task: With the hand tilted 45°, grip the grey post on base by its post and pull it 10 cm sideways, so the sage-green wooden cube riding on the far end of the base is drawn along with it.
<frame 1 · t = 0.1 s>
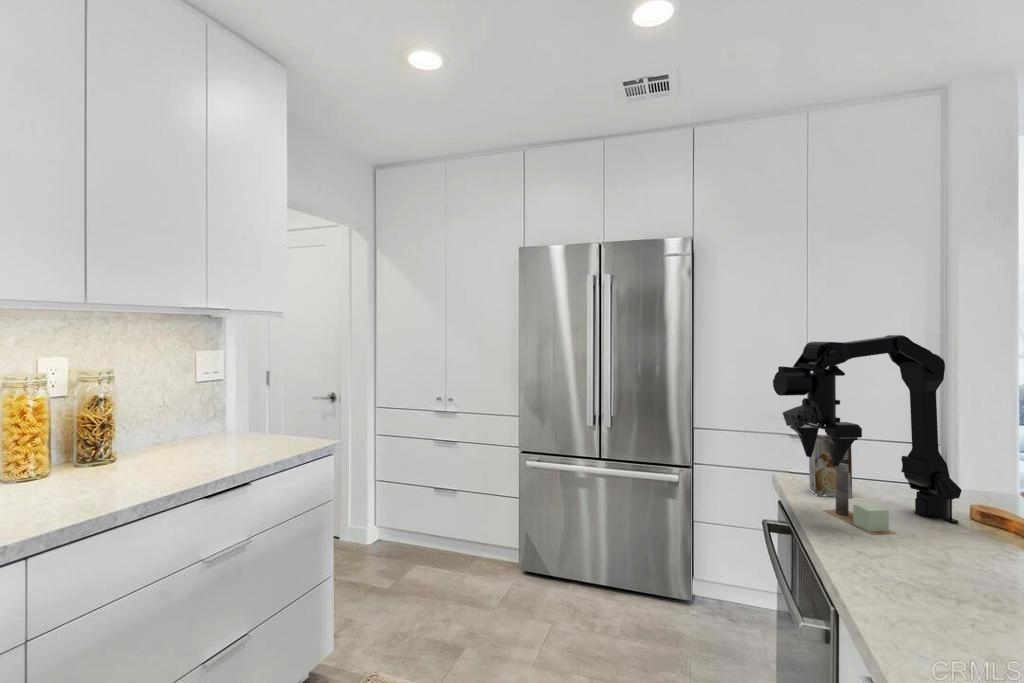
hand: (821, 461, 122), 15 cm above the table, tool pointing down, fingers open, 9 cm apart
coffee box: (830, 494, 144), on the table
sage cube: (870, 527, 116), point 1 cm above the table, touching grey post on base
grey post on base: (857, 497, 120), point 7 cm above the table, slide at 0.0 cm, touching sage cube
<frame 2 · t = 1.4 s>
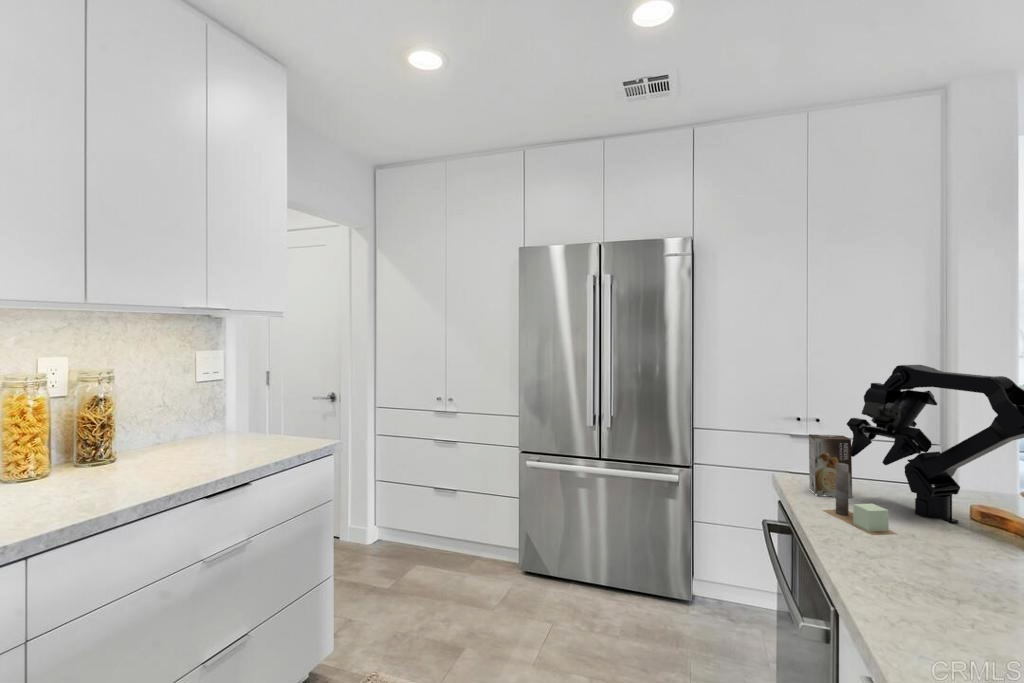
hand: (867, 459, 127), 14 cm above the table, tool tilted 45°, fingers open, 9 cm apart
nothing on the table moved.
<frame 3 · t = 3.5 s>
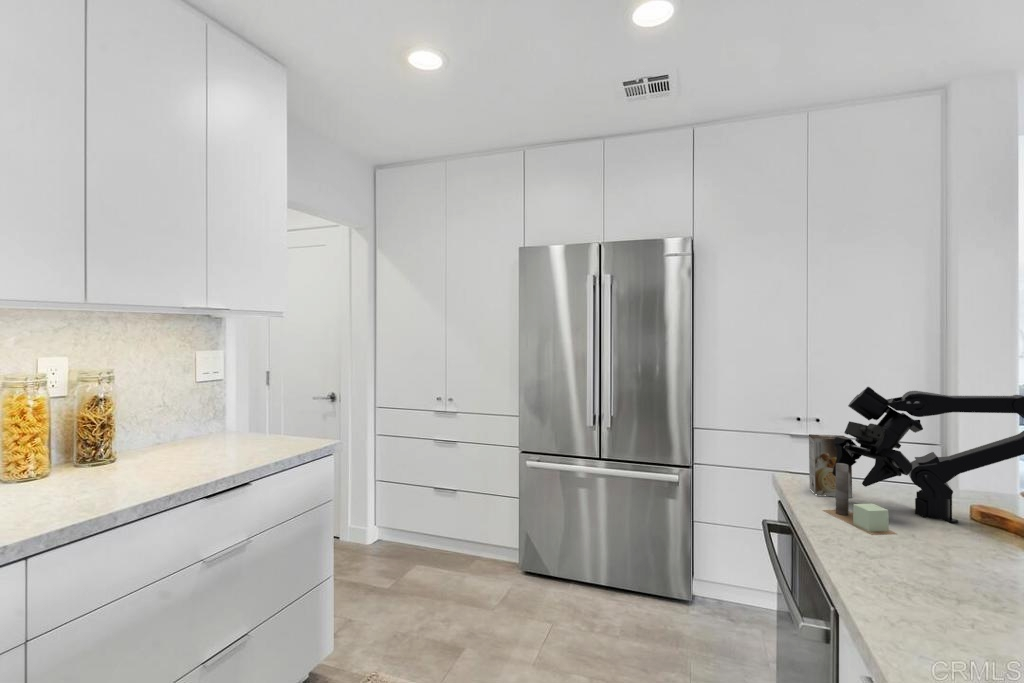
hand: (848, 479, 126), 9 cm above the table, tool tilted 45°, fingers open, 9 cm apart
nothing on the table moved.
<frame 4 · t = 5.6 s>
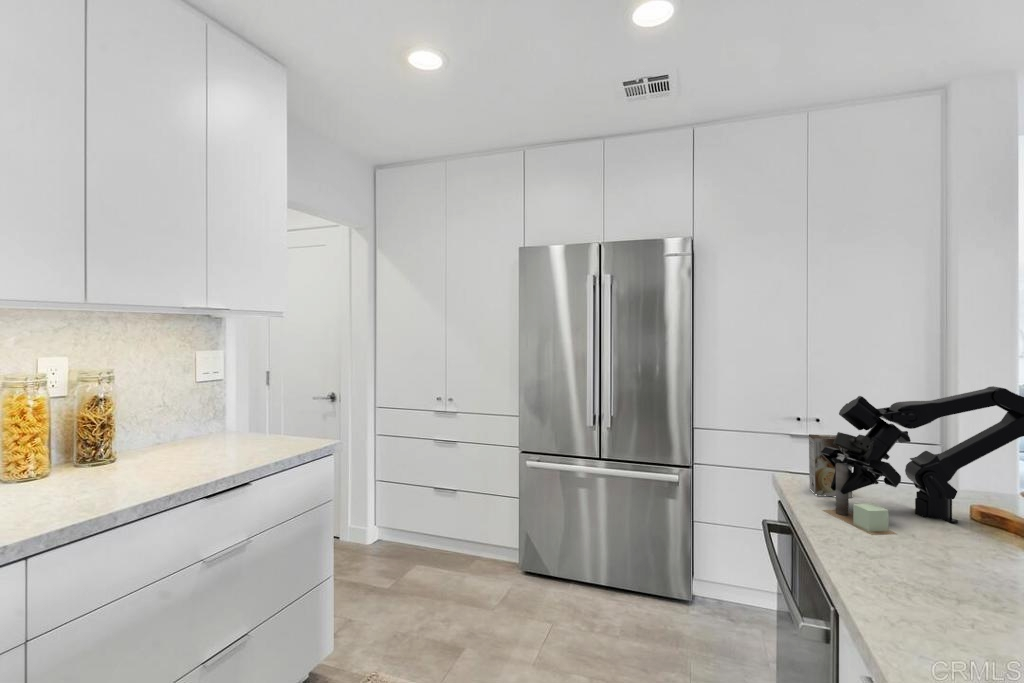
hand: (836, 491, 125), 7 cm above the table, tool tilted 45°, fingers closed on grey post on base, 3 cm apart
grey post on base: (857, 497, 120), point 7 cm above the table, slide at 0.0 cm, touching gripper, sage cube
everything else where it was.
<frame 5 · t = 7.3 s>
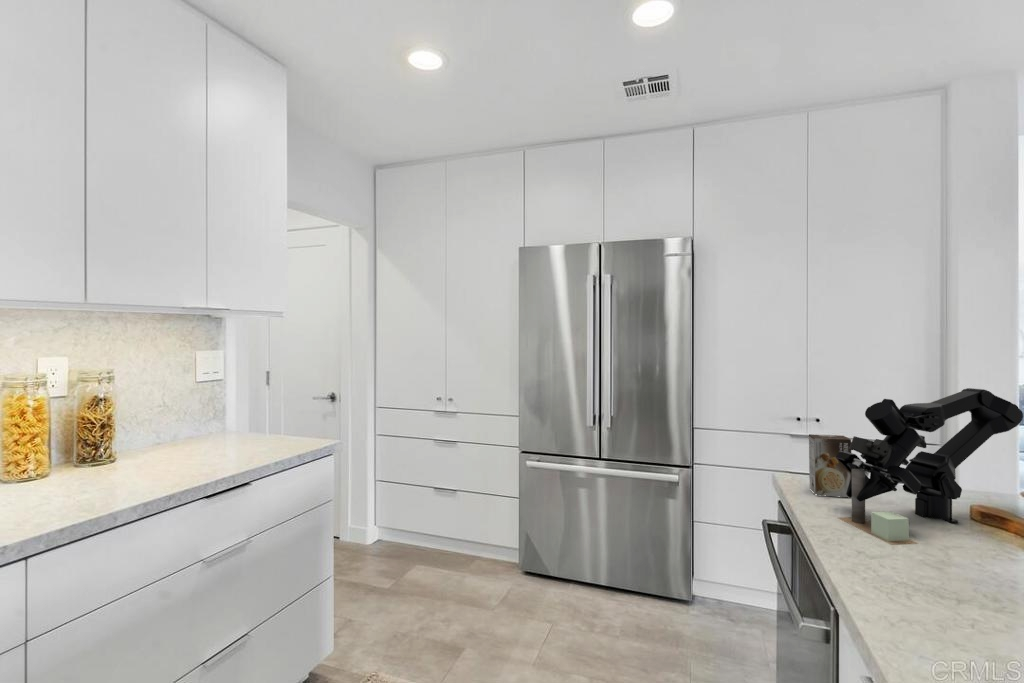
hand: (852, 498, 120), 7 cm above the table, tool tilted 45°, fingers closed on grey post on base, 3 cm apart
sage cube: (889, 536, 111), point 1 cm above the table, touching grey post on base
grey post on base: (875, 505, 115), point 6 cm above the table, slide at 5.3 cm, touching gripper, sage cube
everything else where it was.
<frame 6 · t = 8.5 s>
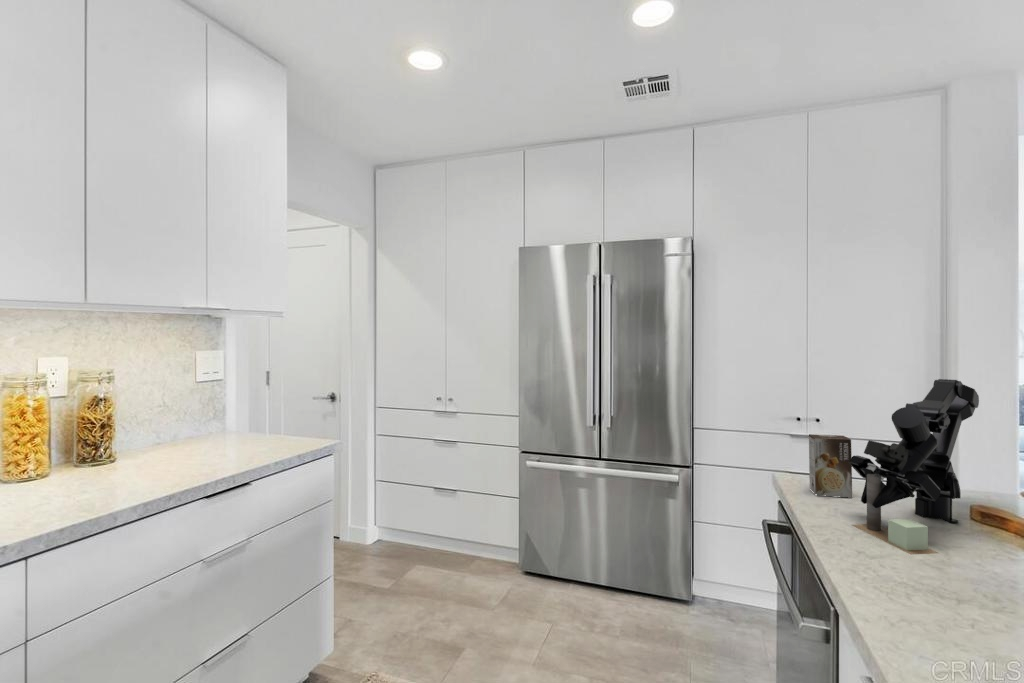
hand: (868, 504, 115), 7 cm above the table, tool tilted 45°, fingers closed on grey post on base, 3 cm apart
sage cube: (907, 545, 107), point 1 cm above the table, touching grey post on base
grey post on base: (891, 512, 111), point 7 cm above the table, slide at 9.9 cm, touching gripper, sage cube
everything else where it was.
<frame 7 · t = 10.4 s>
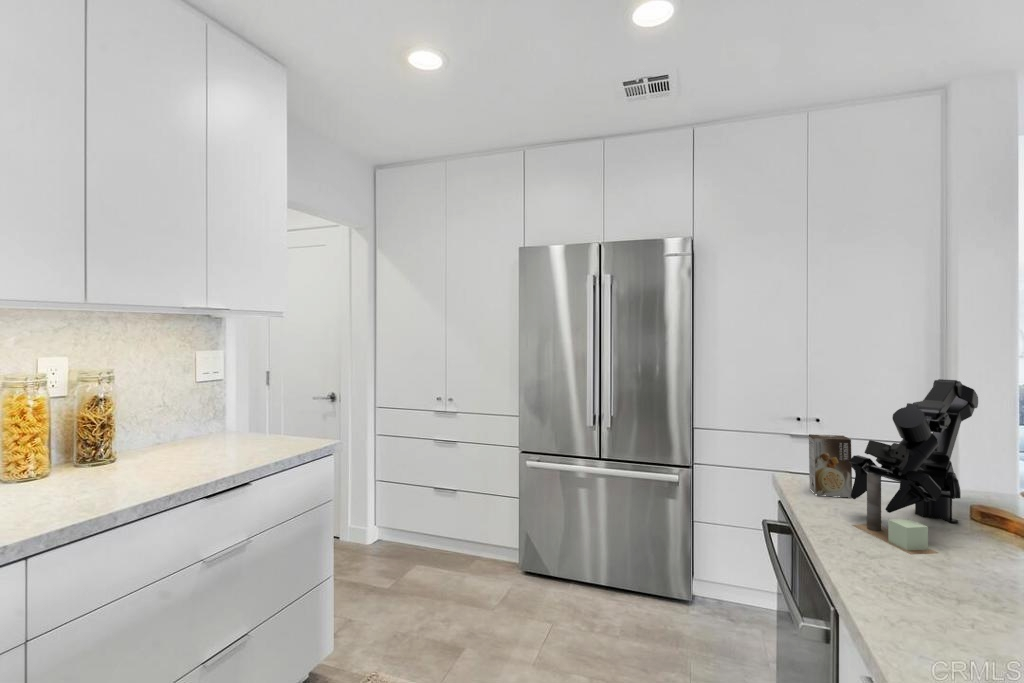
hand: (869, 504, 115), 7 cm above the table, tool tilted 45°, fingers open, 9 cm apart
grey post on base: (892, 512, 110), point 7 cm above the table, slide at 10.0 cm, touching sage cube
everything else where it was.
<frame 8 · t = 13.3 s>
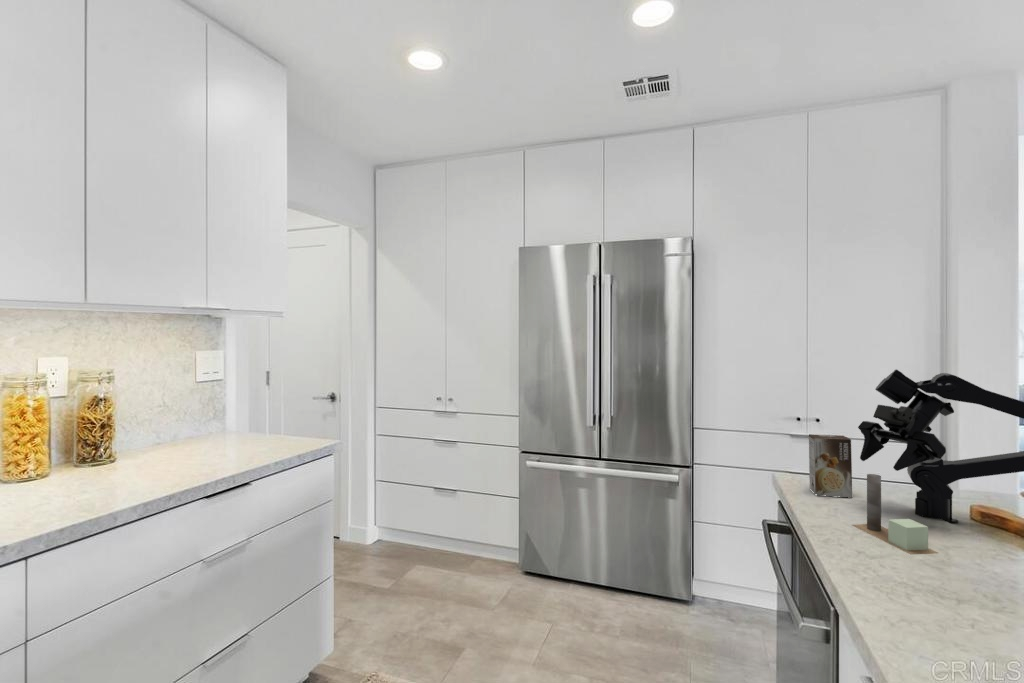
hand: (877, 464, 123), 14 cm above the table, tool tilted 45°, fingers open, 9 cm apart
nothing on the table moved.
at the end: grey post on base slide at 10.0 cm; sage cube inside the target area (0.0 cm from its centre), point 1.0 cm above the table; sage cube tilted 0° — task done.
